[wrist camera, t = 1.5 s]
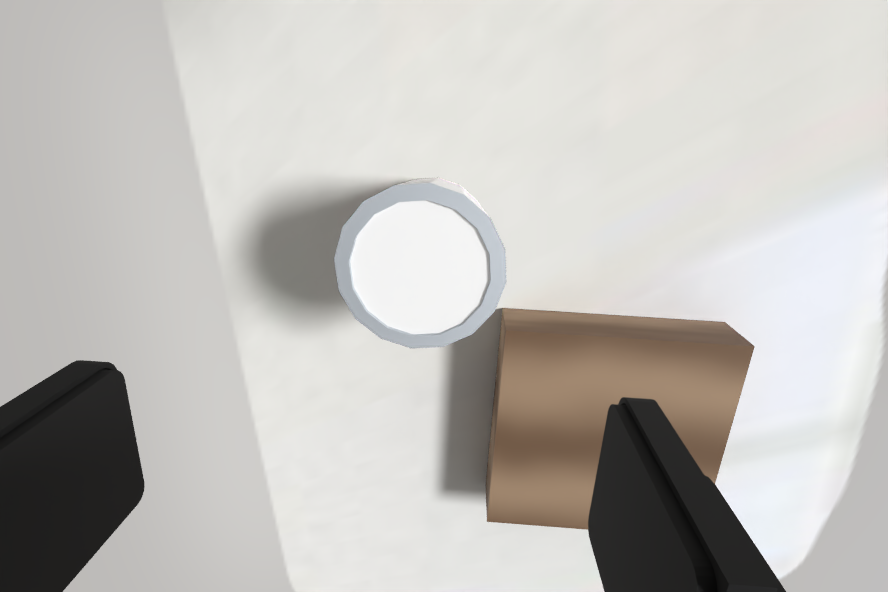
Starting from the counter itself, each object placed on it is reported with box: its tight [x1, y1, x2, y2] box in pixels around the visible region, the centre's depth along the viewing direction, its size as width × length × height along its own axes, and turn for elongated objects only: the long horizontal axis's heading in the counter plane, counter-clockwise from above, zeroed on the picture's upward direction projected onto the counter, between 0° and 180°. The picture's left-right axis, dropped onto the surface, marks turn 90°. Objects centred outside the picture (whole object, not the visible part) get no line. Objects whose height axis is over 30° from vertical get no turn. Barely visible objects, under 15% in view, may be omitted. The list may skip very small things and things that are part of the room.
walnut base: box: [486, 308, 754, 529], centre depth 28 cm, size 12×12×3 cm
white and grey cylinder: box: [334, 178, 506, 348], centre depth 23 cm, size 7×7×7 cm
